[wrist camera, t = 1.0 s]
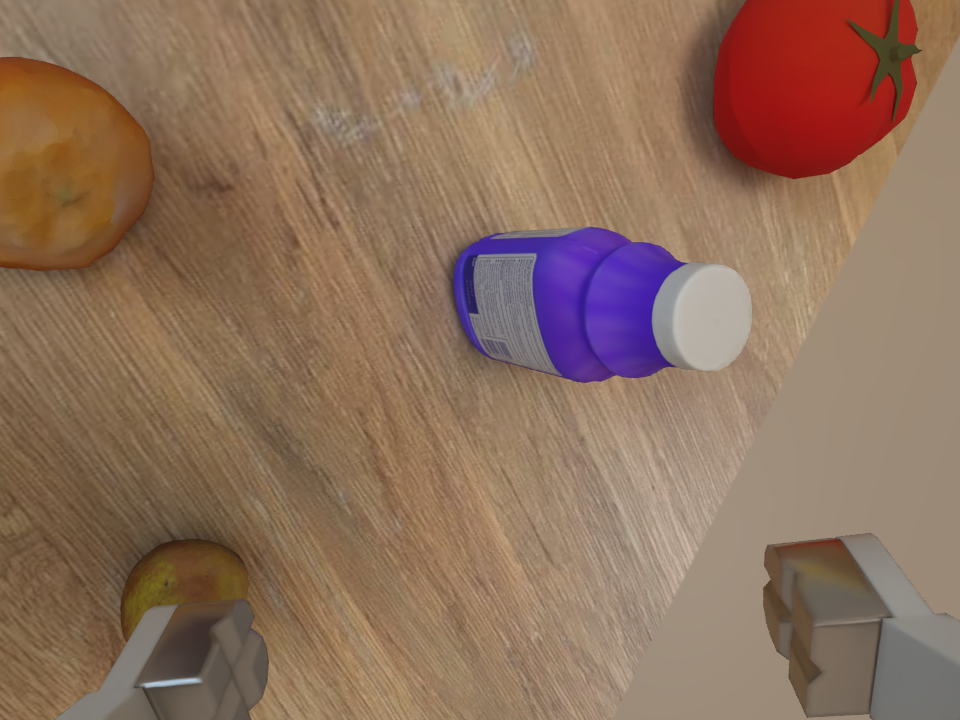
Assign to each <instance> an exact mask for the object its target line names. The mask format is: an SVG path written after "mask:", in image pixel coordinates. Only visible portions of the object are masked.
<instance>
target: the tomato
mask: <svg viewBox="0 0 960 720" xmlns="http://www.w3.org/2000/svg"><path fill="white" fill-rule="evenodd" d="M917 31H918V28H917V24H916V19H915V15H914V11H913V7H912V5H911V3H910V0H746V2H745V3H744V5H743V7H742V8H741V10H740V11H739V13H738V14H737V16H736V17H735V19H734V20H733V22H732V23H731V25H730V27H729V29H728V31H727V33H726V35H725V37H724V39H723V41H722V43H721V45H720V48H719V53H718V59H717V64H716V69H715V74H714V98H713V111H714V126H715V128H716V130H717V132H718V134H719V137H720V139H721V140H722V142H723V144H724V145H725V146H726V147H727V148H728V150H729V151H730V152H731V153H732V154H733V155H734V156H735V157H736V158H738V159H739V160H741V161H742V162H744V163H745V164H747V165H748V166H751V167H754V168H757V169H760V170H763V171H766V172H769V173H772V174H775V175H779V176H783V177H787V178H792V179H797V178H804V177H810V176H816V175H823V174H829V173H831V172H833V171H835V170H837V169H839V168H841V167H843V166H845V165H847V164H849V163H850V162H851V161H853V160H854V159H855V158H856V157H857V156H858V155H860V154H862V153H863V152H865V151H866V150H868V149H869V148H870V147H872V146H873V145H874V144H876V143H877V142H878V141H880V140H881V139H882V138H883V137H884V136H886V135H887V134H888V133H889V132H890V131H891V130H892V129H893V128H894V127H896V126H897V125H898V124H899V123H900V122H901V121H902V120H903V119H904V118H905V117H906V115H907V112H908V110H909V108H910V105H911V102H912V98H913V95H914V91H915V88H916V85H917V81H916V77H915V73H914V69H913V65H912V61H911V57H912V55H913V54H917V53H919V52H920V51H922V50H919V49H918V48H917V47H916V46H915V45H914V44H915V39H916V35H917Z"/></svg>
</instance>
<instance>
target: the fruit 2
mask: <svg viewBox="0 0 960 720" xmlns="http://www.w3.org/2000/svg"><path fill="white" fill-rule="evenodd" d="M247 595H248V573H247V570H246V567H245V565H244V563H243V561H242V560H241V558H240V557H239V555H237V554H236V553H235V552H233V551H232V550H230V549H229V548H227V547H225V546H223V545H220V544H218V543H215V542H211V541H207V540H201V539H187V540H176V541H170V542H166V543H163V544H161V545H159V546H157V547H156V548H154V549H153V550H151V551H150V552H149V553H148V554H146V555H145V556H144V557H143V558H142V559H141V560H140V561H139V562H138V563H137V564H136V566H135V567H134V568H133V570H132V571H131V573H130V575H129V576H128V579H127V581H126V584H125V587H124V591H123V595H122V599H121V607H120V611H121V626H122V633H123V635H124V638H125V640H126V642H128V640H129V639H130V637H131V635H132V633H133V632H134V630H135V628H136V627H137V625H138V623H139V622H140V620H141V618H142V617H143V615H144V613H145V612H146V611H147V610H149V609H150V608H152V607H153V606H161V605H176V604H183V603H192V602H205V601H218V600H231V599H243V600H247Z"/></svg>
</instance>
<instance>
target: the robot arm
mask: <svg viewBox="0 0 960 720" xmlns="http://www.w3.org/2000/svg"><path fill="white" fill-rule="evenodd" d="M764 566H765V568H766V570H767V572H768V574H769V577H770V579H771V580H770V581H769V582H768V583H767V584H766V586H764V588H763V606H764V612H765V617H766V624H767V627H768V630H769V633H770V636H771V639H772V641H773V643H774V646H775V648H776V651H777V652H778V653H780V654H781V655H782V656H784V657H785V658H786V659H788V660H789V680H790V682H791V684H792V686H793V688H794V691H795V693H796V695H797V697H798V699H799V702H800V704H801V706H802V708H803V710H804V712H805V715H806V717H807V718H808V717H824V716H825V717H826V716H844V715H863V714H870V718H871V719H872V720H960V620H958V619H956V618H954V617H952V616H950V615H948V614H947V613H941V614H935V613H934V612H933V611H932V609H931V608H930V607H929V605H928V604H927V603H926V601H925V600H924V599H923V597H922V596H921V595H920V593H919V592H918V591H917V589H916V588H915V587H914V585H913V584H912V583H911V581H910V580H909V579H908V578H907V576H906V575H905V573H904V572H903V571H902V569H901V568H900V567H899V565H898V564H897V563H896V561H895V560H894V559H893V557H892V556H891V555H890V553H889V552H888V551H887V549H886V548H885V547H884V545H883V544H882V543H881V541H880V540H879V539H878V538H877V537H876V536H874V535H873V534H871V533H866V534H857V535H849V536H841V537H836V538H826V539H817V540H808V541H799V542H790V543H782V544H771V545H767V547H766V550H765V557H764ZM254 617H255V616H254V613H253V611H252V609H251V607H250V604H249V602H248V601H247V600H243V599H231V600H218V601H205V602H192V603H183V604H176V605H161V606H153V607H152V608H150V609H149V610H147V611H146V612H145V613H144V615H143V617H142V618H141V620H140V622H139V623H138V625H137V627H136V628H135V630H134V632H133V633H132V635H131V637H130V639H129V640H128V642H127V644H126V645H125V647H124V649H123V650H122V652H121V654H120V656H119V657H118V659H117V661H116V662H115V664H114V666H113V667H112V669H111V671H110V672H109V674H108V676H107V678H106V679H105V681H104V683H103V684H102V686H101V688H100V689H99V691H97V692H89V693H88V694H86V695H85V696H84V697H82V698H81V699H80V700H78V701H77V702H76V703H75V704H73V705H72V706H71V707H69V708H68V709H67V710H66V711H64V712H63V713H62V714H60V715H59V716H58V717H57V718H55V719H54V720H251V717H250V715H249V712H248V711H250V710H251V709H252V708H253V707H254V706H255V705H256V704H257V703H258V702H259V701H260V700H261V699H262V697H263V694H264V690H265V687H266V684H267V679H268V667H269V659H268V653H267V647H266V644H265V642H264V639H263V636H261V635H260V634H258V633H257V632H256V631H254V630H253V629H251V628H250V627H251V624H252V622H253V619H254Z"/></svg>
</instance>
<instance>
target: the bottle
mask: <svg viewBox="0 0 960 720" xmlns="http://www.w3.org/2000/svg"><path fill="white" fill-rule="evenodd" d="M453 283H454V296H455V302H456V307H457V311H458V314H459V318H460V321H461V323H462V326H463V328H464V330H465V332H466V334H467V336H468V338H469V340H470V341H471V342H472V344H473V345H474V346H475V347H476V348H477V349H478V350H479V351H480V352H481V353H482V354H484V355H485V356H487V357H489V358H492V359H495V360H499V361H502V362H505V363H509V364H514V365H518V366H522V367H525V368H529V369H533V370H536V371H540V372H544V373H548V374H551V375H555V376H558V377H562V378H566V379H570V380H572V381H576V382H583V383H588V382H591V381H599V382H601V381H604V380H606V379H608V378H611V377H612V376H615V375H618V376H621V377H627V378H639V377H647V376H651V375H652V374H654V373H656V372H658V371H659V370H661V369H663V368H665V367H678V368H681V369H686V370H697V371H704V372H712V371H717V370H720V369H723V368H725V367H726V366H728V365H729V364H731V363H732V362H733V361H734V360H735V359H736V358H737V357H738V355H739V354H740V352H741V351H742V350H743V348H744V346H745V344H746V342H747V339H748V337H749V334H750V329H751V324H752V313H753V310H752V301H751V296H750V292H749V290H748V287H747V285H746V283H745V281H744V280H743V278H742V277H741V276H740V275H739V274H738V273H737V272H736V271H735V270H734V269H732V268H730V267H728V266H725V265H721V264H707V263H702V262H692V263H683V262H680V261H678V260H676V259H675V258H674V257H673V256H672V255H671V254H670V253H669V252H668V251H666V250H665V249H664V248H662V247H661V246H658V245H654V244H651V243H644V242H634V243H633V242H631V241H630V240H629V239H627V238H626V237H624V236H622V235H620V234H618V233H616V232H613V231H610V230H606V229H602V228H594V227H579V228H562V229H547V230H530V231H514V232H509V233H497V234H494V235H491V236H488V237H484V238H482V239H481V240H480V241H478V242H476V243H474V244H472V245H470V246H469V247H468V248H467V249H466V250H465V251H464V252H463V253H462V254H461V255H460V257H459V258H458V260H457V262H456V265H455V269H454V279H453Z"/></svg>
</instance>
